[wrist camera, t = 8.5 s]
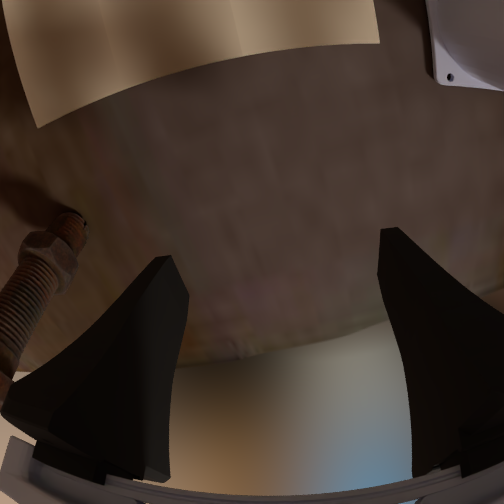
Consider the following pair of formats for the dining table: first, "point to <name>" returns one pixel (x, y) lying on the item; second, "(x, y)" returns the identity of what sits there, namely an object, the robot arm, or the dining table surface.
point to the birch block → (159, 40)
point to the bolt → (36, 287)
